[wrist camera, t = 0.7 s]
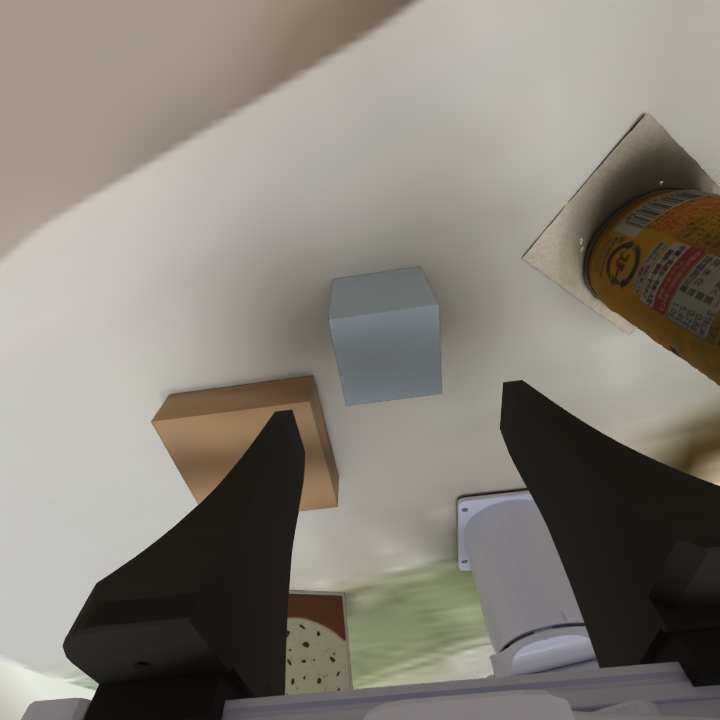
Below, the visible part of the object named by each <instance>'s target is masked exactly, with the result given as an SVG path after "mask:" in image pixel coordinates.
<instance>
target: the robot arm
mask: <svg viewBox="0 0 720 720" xmlns="http://www.w3.org/2000/svg"><path fill="white" fill-rule="evenodd" d="M500 430H501V433H502V435H503V438H504V441H505V444H506V446H507V449H508V451H509V454H510V456H511V458H512V460H513V462H514V464H515V466H516V468H517V470H518V471H519V473H520V475H521V477H522V479H523V481H524V483H525V485H526V487H527V488H528V490H527V491H518V492H509V493H500V494H491V495H482V496H473V497H464V498H461V499H459V500H458V502H457V523H458V567H459V569H460V570H461V571H468V570H471V572H472V575H473V579H474V583H475V586H476V590H477V594H478V597H479V601H480V605H481V608H482V612H483V616H484V619H485V623H486V627H487V630H488V634H489V637H490V641H491V643H492V646H493V648H494V650H495V652H496V654H494V655H491V656H490V659H491V663H492V667H493V670H494V675H489V676H487V678H480V679H469V680H457V681H445V682H434V683H422V684H410V685H399V686H387V687H375V688H364V689H352V690H341V691H329V692H317V693H306V694H294V695H285V680H286V643H287V618H288V600H289V583H290V570H291V556H292V548H293V540H294V534H295V529H296V523H297V517H298V512H299V506H300V500H301V495H302V489H303V483H304V472H305V449H304V446H303V443H302V439H301V436H300V433H299V430H298V426H297V423H296V420H295V416H294V413H293V410H292V409H291V410H283V411H276V412H274V414H273V415H272V416H271V418H270V419H269V420H268V422H267V423H266V425H265V426H264V427H263V429H262V430H261V432H260V433H259V435H258V436H257V437H256V439H255V440H254V441H253V443H252V444H251V445H250V447H249V448H248V449H247V451H246V452H245V453H244V455H243V456H242V457H241V459H240V460H239V461H238V462H237V463H236V465H235V466H234V467H233V468H232V469H231V471H230V472H229V473H228V474H227V475H226V477H225V478H224V479H223V480H222V481H221V482H220V483H219V485H218V486H217V487H216V488H215V489H214V490H213V491H212V492H211V493H210V494H209V495H208V496H207V497H206V498H205V499H204V500H203V501H202V502H201V503H200V504H199V505H198V506H197V507H195V508H194V509H193V510H192V511H191V512H190V513H189V514H188V515H187V516H185V517H184V518H183V519H182V520H181V521H180V522H179V523H178V524H177V525H175V526H174V527H173V528H172V529H171V530H169V531H168V532H167V533H166V534H165V535H163V536H162V537H161V538H160V539H158V540H157V541H156V542H154V543H153V544H152V545H151V546H149V547H148V548H147V549H145V550H144V551H143V552H141V553H140V554H139V555H137V556H136V557H134V558H133V559H132V560H130V561H129V562H127V563H126V564H124V565H123V566H121V567H120V568H119V569H117V570H116V571H114V572H113V573H111V574H110V575H108V576H107V577H105V578H104V579H102V580H101V581H99V582H98V583H96V585H95V587H94V588H93V590H92V592H91V594H90V595H89V597H88V599H87V601H86V602H85V604H84V606H83V608H82V610H81V611H80V613H79V615H78V617H77V619H76V620H75V622H74V624H73V626H72V628H71V629H70V631H69V633H68V635H67V636H66V638H65V641H64V643H63V649H64V652H65V655H66V657H67V658H68V659H69V660H70V661H71V662H72V663H73V664H74V665H75V666H77V667H78V668H79V669H80V670H82V671H83V672H84V673H86V674H87V675H88V676H90V677H91V678H92V679H93V680H95V681H96V682H97V683H99V686H98V688H97V690H96V693H95V695H94V697H93V699H92V701H91V700H88V699H83V698H68V699H57V700H45V701H35V702H33V703H32V704H30V705H29V706H28V708H27V710H26V712H25V713H24V715H23V717H22V719H21V720H720V486H718V485H715V484H712V483H710V482H707V481H704V480H702V479H699V478H696V477H694V476H691V475H689V474H686V473H684V472H681V471H679V470H677V469H674V468H672V467H670V466H667V465H665V464H663V463H660V462H658V461H656V460H654V459H651V458H649V457H647V456H645V455H643V454H641V453H639V452H637V451H635V450H633V449H631V448H629V447H627V446H625V445H623V444H621V443H619V442H617V441H615V440H613V439H612V438H610V437H608V436H606V435H604V434H603V433H601V432H599V431H598V430H596V429H594V428H593V427H591V426H589V425H588V424H586V423H584V422H583V421H581V420H580V419H578V418H576V417H575V416H573V415H572V414H570V413H569V412H567V411H566V410H564V409H563V408H561V407H560V406H558V405H557V404H555V403H554V402H553V401H551V400H550V399H548V398H547V397H545V396H544V395H543V394H541V393H540V392H538V391H537V390H536V389H534V388H533V387H531V386H530V385H528V384H527V383H526V382H524V381H523V380H518V381H510V382H503V394H502V407H501V421H500Z"/></svg>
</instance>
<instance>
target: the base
mask: <svg viewBox="0 0 720 720" xmlns="http://www.w3.org/2000/svg"><path fill="white" fill-rule="evenodd" d="M291 409H292V410H293V413H294V416H295V420H296V423H297V426H298V430H299V433H300V436H301V439H302V443H303V446H304V449H305V472H304V483H303V489H302V495H301V500H300V506H299V511H305V510H314V509H323V508H332V507H338V486H339V476H338V472H337V468H336V464H335V460H334V456H333V452H332V448H331V444H330V440H329V436H328V432H327V428H326V424H325V420H324V417H323V413H322V409H321V405H320V401H319V397H318V393H317V389H316V385H315V381H314V377H313V376H308V377H301V378H293V379H285V380H278V381H270V382H263V383H255V384H248V385H240V386H232V387H225V388H217V389H210V390H202V391H194V392H187V393H179V394H172V395H169V396H168V398H167V399H166V401H165V402H164V403H163V405H162V406H161V408H160V409H159V411H158V412H157V414H156V415H155V417H154V418H153V420H152V421H151V423H152V424H153V426H154V428H155V430H156V431H157V433H158V435H159V437H160V438H161V440H162V442H163V444H164V445H165V447H166V449H167V451H168V452H169V454H170V456H171V458H172V459H173V461H174V463H175V465H176V466H177V468H178V470H179V472H180V473H181V475H182V477H183V479H184V480H185V482H186V484H187V486H188V487H189V489H190V491H191V493H192V494H193V496H194V498H195V500H196V501H197V503H198V505H199V504H200V503H201V502H202V501H203V500H204V499H205V498H206V497H207V496H208V495H209V494H210V493H211V492H212V491H213V490H214V489H215V488H216V487H217V486H218V485H219V483H220V482H221V481H222V480H223V479H224V478H225V477H226V475H227V474H228V473H229V472H230V471H231V469H232V468H233V467H234V466H235V465H236V463H237V462H238V461H239V460H240V459H241V457H242V456H243V455H244V453H245V452H246V451H247V449H248V448H249V447H250V445H251V444H252V443H253V441H254V440H255V439H256V437H257V436H258V435H259V433H260V432H261V430H262V429H263V427H264V426H265V425H266V423H267V422H268V420H269V419H270V418H271V416H272V415H273V414H274V412H276V411H283V410H291Z"/></svg>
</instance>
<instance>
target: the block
mask: <svg viewBox="0 0 720 720" xmlns="http://www.w3.org/2000/svg"><path fill="white" fill-rule="evenodd" d="M328 320H329V325H330V330H331V335H332V340H333V345H334V349H335V354H336V359H337V364H338V369H339V374H340V379H341V383H342V388H343V393H344V398H345V403H346V406H350V405H357V404H365V403H373V402H381V401H389V400H397V399H405V398H413V397H421V396H429V395H436V394H442V377H441V347H440V317H439V303H438V301H437V299H436V298H435V296H434V294H433V292H432V290H431V288H430V286H429V284H428V282H427V280H426V278H425V276H424V274H423V272H422V270H421V268H420V266H418V267H412V268H405V269H398V270H391V271H384V272H377V273H370V274H364V275H357V276H350V277H343V278H336V279H333V285H332V293H331V302H330V311H329V319H328Z"/></svg>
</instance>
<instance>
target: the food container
mask: <svg viewBox="0 0 720 720" xmlns="http://www.w3.org/2000/svg"><path fill="white" fill-rule="evenodd" d="M352 689H353V686H352V674H351V662H350V651H349V639H348V627H347V616H346V604H345V593H344V592H324V591H302V590H289V600H288V618H287V643H286V680H285V695H294V694H306V693H317V692H329V691H341V690H352Z"/></svg>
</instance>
